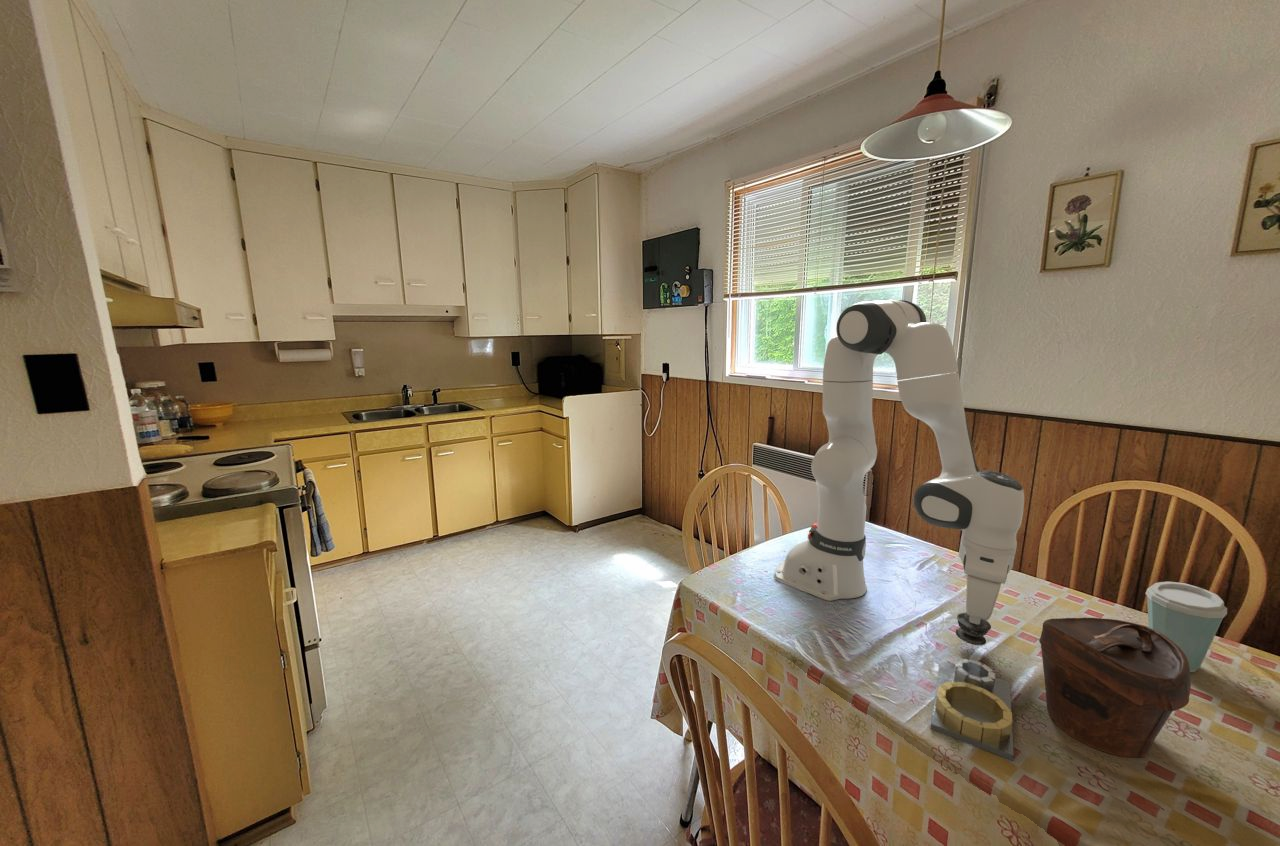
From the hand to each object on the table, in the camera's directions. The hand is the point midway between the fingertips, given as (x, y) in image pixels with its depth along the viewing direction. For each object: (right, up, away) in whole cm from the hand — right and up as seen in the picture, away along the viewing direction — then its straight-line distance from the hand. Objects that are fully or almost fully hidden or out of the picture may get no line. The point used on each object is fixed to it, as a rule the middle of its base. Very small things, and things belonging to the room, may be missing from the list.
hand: (974, 615), depth 101 cm
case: (+8, -12, -18) cm, 23 cm away
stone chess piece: (0, -5, +1) cm, 5 cm away
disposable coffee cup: (+37, -8, -3) cm, 38 cm away
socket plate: (-10, -11, -14) cm, 20 cm away
